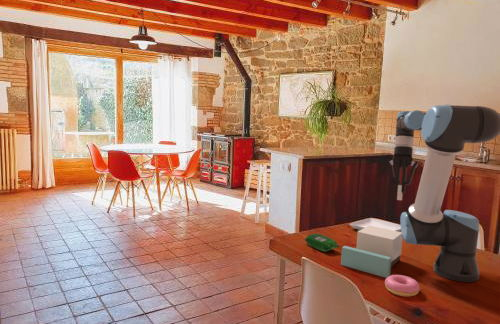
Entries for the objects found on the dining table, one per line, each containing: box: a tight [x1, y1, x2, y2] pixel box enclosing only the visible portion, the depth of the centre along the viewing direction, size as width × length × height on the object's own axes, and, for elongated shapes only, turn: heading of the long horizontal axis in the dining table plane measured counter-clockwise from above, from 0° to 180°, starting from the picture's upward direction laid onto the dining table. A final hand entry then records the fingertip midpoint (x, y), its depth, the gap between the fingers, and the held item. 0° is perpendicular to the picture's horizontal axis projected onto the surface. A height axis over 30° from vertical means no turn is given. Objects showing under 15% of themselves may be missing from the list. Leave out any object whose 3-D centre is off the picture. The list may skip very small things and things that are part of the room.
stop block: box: [340, 245, 392, 279], centre depth 145 cm, size 18×2×7 cm, turn 52°
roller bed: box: [390, 255, 401, 269], centre depth 154 cm, size 14×17×2 cm
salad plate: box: [349, 217, 401, 232], centre depth 197 cm, size 21×21×3 cm
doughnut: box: [384, 274, 421, 298], centre depth 130 cm, size 11×11×4 cm
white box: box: [355, 226, 403, 262], centre depth 156 cm, size 14×12×9 cm
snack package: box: [304, 232, 340, 253], centre depth 168 cm, size 7×16×5 cm, turn 32°
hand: (399, 200), depth 170 cm, fingers closed
